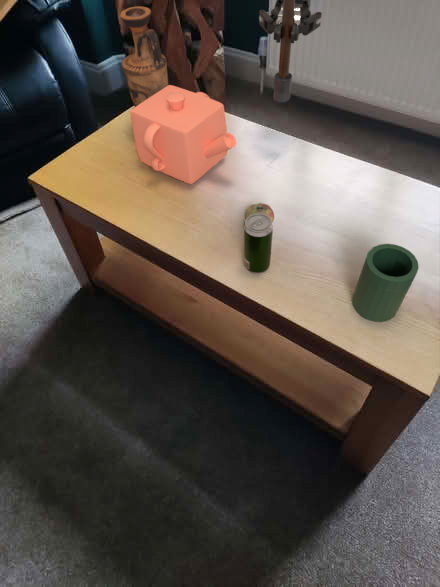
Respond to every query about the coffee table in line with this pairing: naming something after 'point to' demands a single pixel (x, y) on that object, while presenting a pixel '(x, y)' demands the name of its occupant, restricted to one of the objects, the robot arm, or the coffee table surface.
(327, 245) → the coffee table surface
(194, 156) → the teapot
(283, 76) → the brush
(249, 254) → the beer can
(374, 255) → the green hollow cylinder
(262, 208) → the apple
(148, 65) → the vase
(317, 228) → the coffee table surface
